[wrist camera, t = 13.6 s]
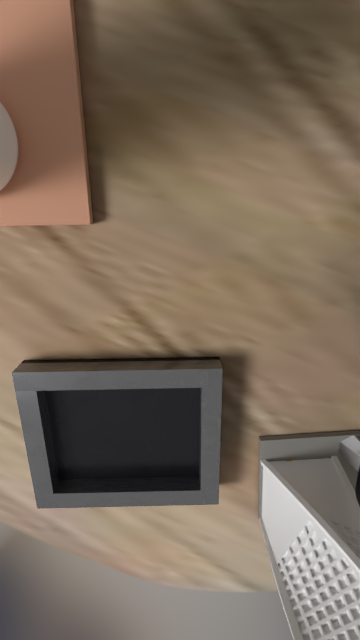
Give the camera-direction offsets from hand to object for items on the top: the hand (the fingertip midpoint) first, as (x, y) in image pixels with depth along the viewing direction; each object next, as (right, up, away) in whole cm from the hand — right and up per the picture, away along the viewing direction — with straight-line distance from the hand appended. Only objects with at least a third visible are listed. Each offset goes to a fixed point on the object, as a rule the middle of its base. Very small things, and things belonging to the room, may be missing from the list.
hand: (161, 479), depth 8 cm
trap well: (-3, -4, +15) cm, 16 cm away
